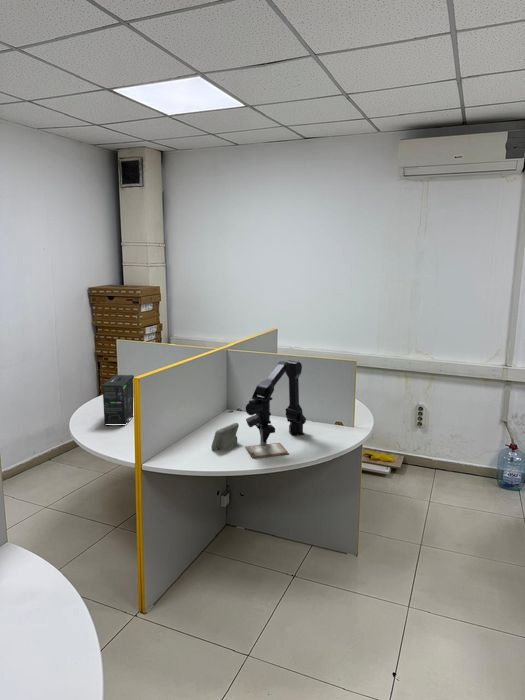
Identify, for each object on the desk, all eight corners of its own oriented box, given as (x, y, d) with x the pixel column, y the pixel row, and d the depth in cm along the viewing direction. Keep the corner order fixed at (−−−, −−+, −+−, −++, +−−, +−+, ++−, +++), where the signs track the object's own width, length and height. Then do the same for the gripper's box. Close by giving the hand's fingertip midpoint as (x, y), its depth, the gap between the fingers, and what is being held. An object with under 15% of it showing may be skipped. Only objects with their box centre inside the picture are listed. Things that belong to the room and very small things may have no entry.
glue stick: (265, 443, 237) (265, 426, 235) (267, 445, 234) (267, 428, 232) (259, 444, 236) (259, 426, 234) (261, 446, 233) (261, 428, 231)
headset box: (125, 426, 267) (123, 381, 262) (104, 426, 267) (101, 380, 262) (136, 413, 289) (134, 371, 284) (116, 413, 289) (114, 371, 284)
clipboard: (279, 443, 242) (279, 440, 241) (289, 454, 228) (289, 451, 228) (245, 447, 237) (245, 444, 236) (252, 458, 223) (252, 455, 223)
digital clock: (233, 439, 247) (232, 420, 245) (244, 444, 240) (244, 424, 238) (207, 448, 236) (206, 427, 234) (218, 453, 230) (217, 432, 228)
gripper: (242, 406, 238) (242, 436, 241) (252, 417, 221) (252, 449, 223) (264, 404, 241) (264, 434, 244) (275, 415, 224) (275, 447, 226)
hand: (263, 441), depth 234 cm, fingers closed on glue stick, 3 cm apart
